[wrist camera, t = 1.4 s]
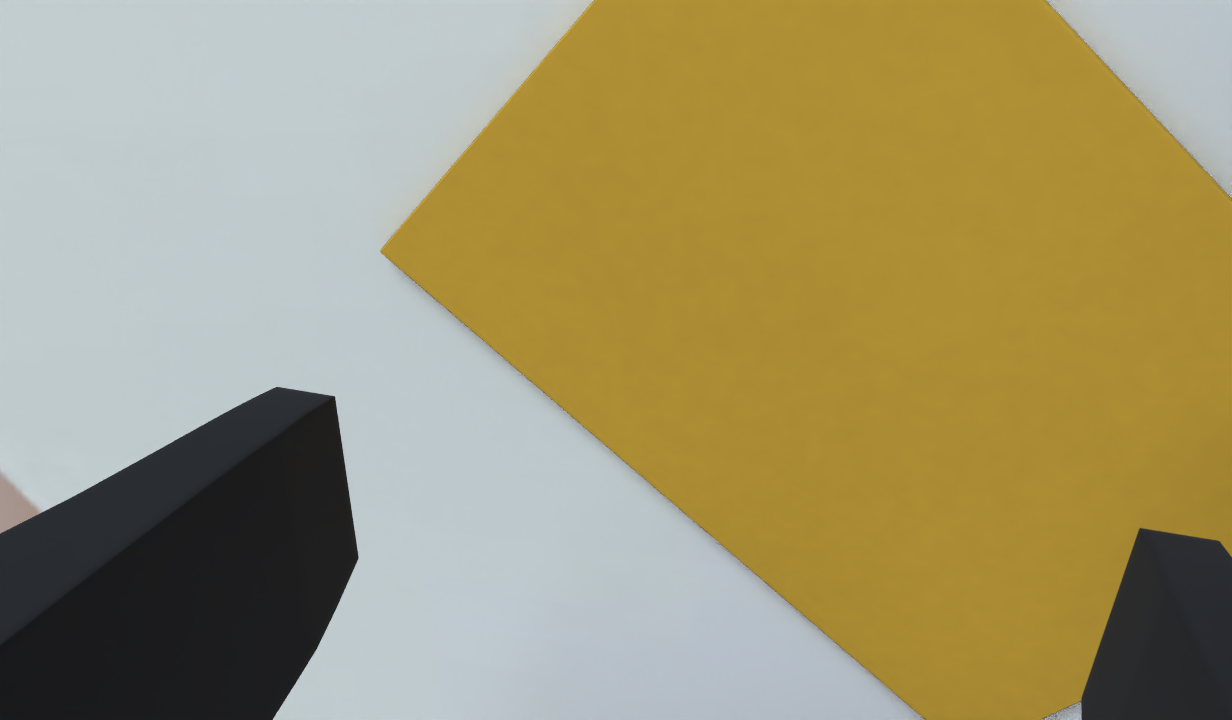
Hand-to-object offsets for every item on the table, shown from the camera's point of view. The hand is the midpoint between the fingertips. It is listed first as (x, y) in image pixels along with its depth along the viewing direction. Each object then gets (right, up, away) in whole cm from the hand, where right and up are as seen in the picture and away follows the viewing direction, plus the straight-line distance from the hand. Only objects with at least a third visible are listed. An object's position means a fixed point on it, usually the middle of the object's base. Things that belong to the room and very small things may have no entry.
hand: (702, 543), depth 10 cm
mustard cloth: (+4, +2, +10) cm, 11 cm away
